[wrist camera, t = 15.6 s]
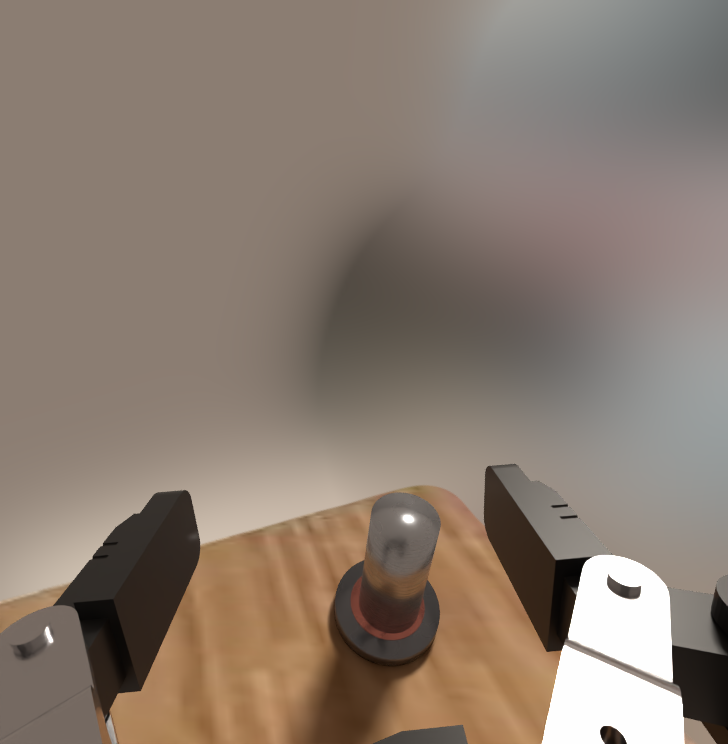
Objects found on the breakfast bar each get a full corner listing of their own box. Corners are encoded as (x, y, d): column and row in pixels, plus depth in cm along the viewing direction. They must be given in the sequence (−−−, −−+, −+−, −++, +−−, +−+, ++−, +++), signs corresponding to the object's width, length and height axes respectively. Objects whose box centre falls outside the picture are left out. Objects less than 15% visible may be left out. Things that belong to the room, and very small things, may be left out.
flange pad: (324, 652, 32) (324, 644, 32) (344, 556, 40) (345, 548, 40) (438, 676, 31) (441, 668, 31) (436, 574, 39) (438, 566, 39)
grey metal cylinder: (354, 626, 33) (367, 538, 29) (363, 570, 38) (375, 487, 33) (418, 639, 33) (441, 552, 28) (419, 581, 37) (439, 498, 33)
